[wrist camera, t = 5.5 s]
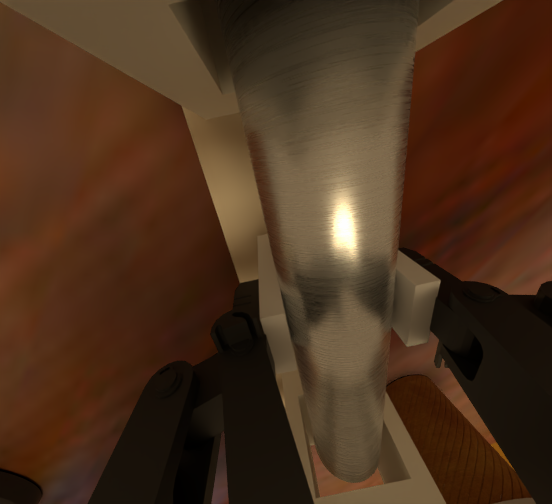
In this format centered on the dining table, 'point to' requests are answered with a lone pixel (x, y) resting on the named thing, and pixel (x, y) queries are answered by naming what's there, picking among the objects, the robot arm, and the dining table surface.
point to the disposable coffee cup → (454, 447)
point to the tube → (330, 192)
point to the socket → (187, 41)
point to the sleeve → (392, 465)
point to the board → (231, 190)
